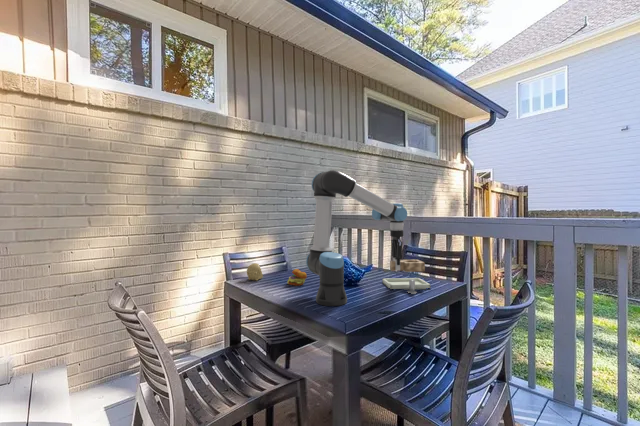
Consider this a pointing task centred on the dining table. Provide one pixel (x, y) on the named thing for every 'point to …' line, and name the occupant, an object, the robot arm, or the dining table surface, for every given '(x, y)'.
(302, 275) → the cheeseburger
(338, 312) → the dining table surface
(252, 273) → the pale yellow lumpy ball
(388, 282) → the tray
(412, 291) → the post
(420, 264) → the collar
